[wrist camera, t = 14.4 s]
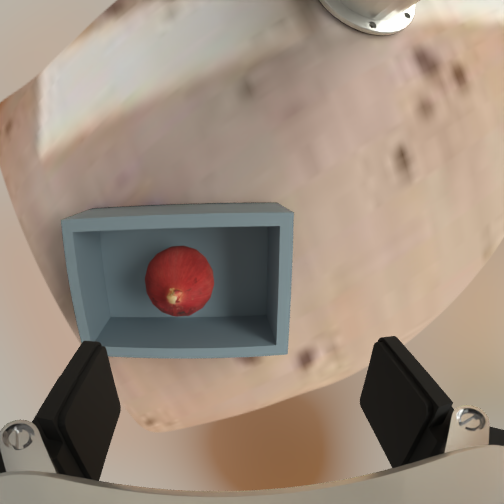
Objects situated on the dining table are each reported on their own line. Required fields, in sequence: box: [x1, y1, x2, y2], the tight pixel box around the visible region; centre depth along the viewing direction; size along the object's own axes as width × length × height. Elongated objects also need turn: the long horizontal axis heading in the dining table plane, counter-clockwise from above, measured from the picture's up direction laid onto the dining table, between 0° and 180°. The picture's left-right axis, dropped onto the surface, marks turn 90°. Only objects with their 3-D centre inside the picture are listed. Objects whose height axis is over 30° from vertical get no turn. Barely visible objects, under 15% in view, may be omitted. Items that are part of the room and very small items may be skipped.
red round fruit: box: [145, 246, 214, 317], centre depth 26 cm, size 6×6×8 cm
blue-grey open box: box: [61, 203, 294, 358], centre depth 28 cm, size 12×18×7 cm, turn 90°
